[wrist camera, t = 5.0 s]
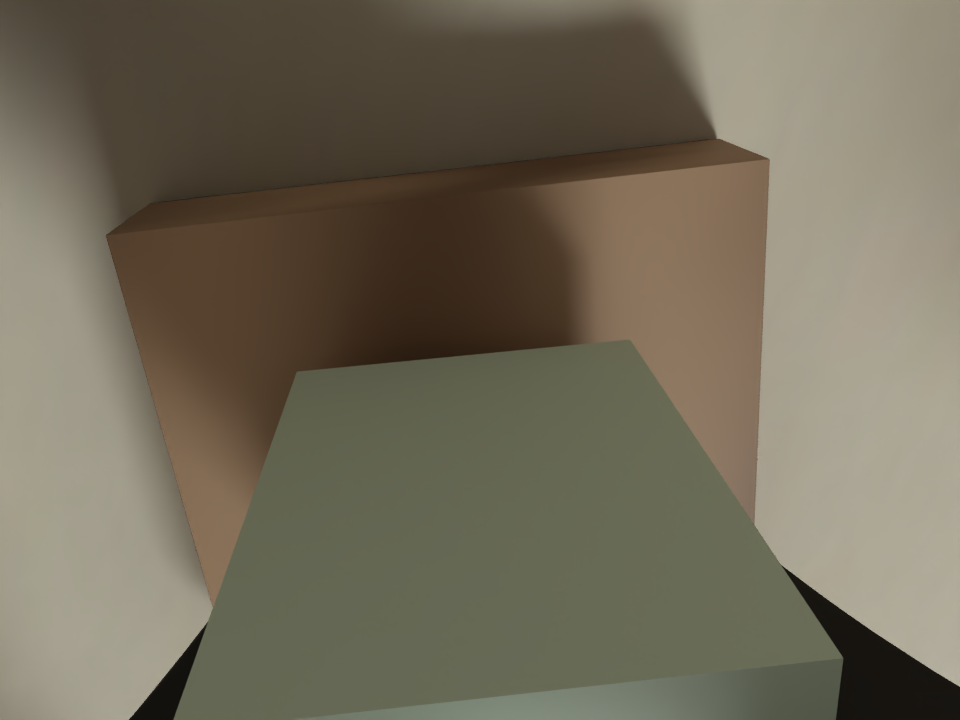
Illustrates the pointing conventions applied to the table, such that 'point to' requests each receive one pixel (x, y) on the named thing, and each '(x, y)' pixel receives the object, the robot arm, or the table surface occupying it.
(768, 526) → the table surface
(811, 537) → the table surface
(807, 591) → the robot arm
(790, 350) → the table surface
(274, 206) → the plinth
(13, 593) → the table surface
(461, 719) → the block
